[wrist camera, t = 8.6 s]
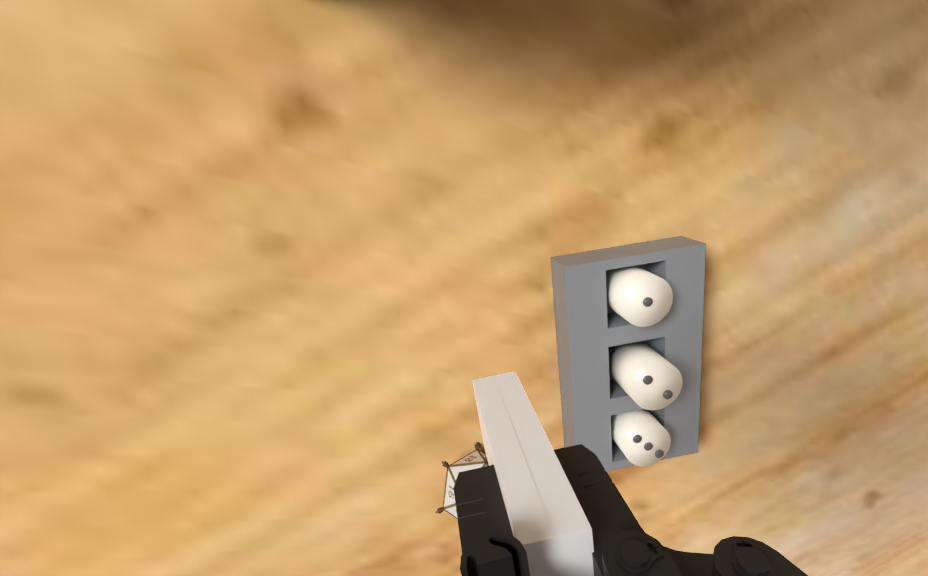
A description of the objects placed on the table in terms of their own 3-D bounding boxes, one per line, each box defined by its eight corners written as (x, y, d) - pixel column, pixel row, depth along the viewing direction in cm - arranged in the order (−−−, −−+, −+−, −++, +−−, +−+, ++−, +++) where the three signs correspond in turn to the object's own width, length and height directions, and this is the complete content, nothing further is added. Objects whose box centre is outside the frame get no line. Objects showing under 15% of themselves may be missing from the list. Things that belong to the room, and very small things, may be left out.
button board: (550, 257, 44) (564, 266, 41) (680, 236, 46) (705, 243, 42) (565, 453, 52) (577, 476, 48) (677, 431, 53) (698, 452, 49)
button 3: (603, 403, 49) (625, 431, 44) (645, 395, 50) (671, 421, 45) (604, 440, 51) (626, 471, 46) (646, 432, 51) (671, 462, 46)
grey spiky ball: (480, 433, 54) (545, 457, 46) (472, 505, 53) (537, 541, 46) (421, 439, 48) (485, 468, 41) (411, 519, 47) (475, 564, 40)
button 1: (597, 267, 44) (621, 280, 39) (644, 259, 45) (674, 272, 40) (599, 312, 46) (622, 331, 41) (645, 304, 46) (673, 322, 41)
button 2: (608, 345, 45) (632, 368, 40) (654, 337, 45) (684, 359, 41) (609, 388, 47) (633, 415, 42) (654, 379, 47) (682, 405, 42)
